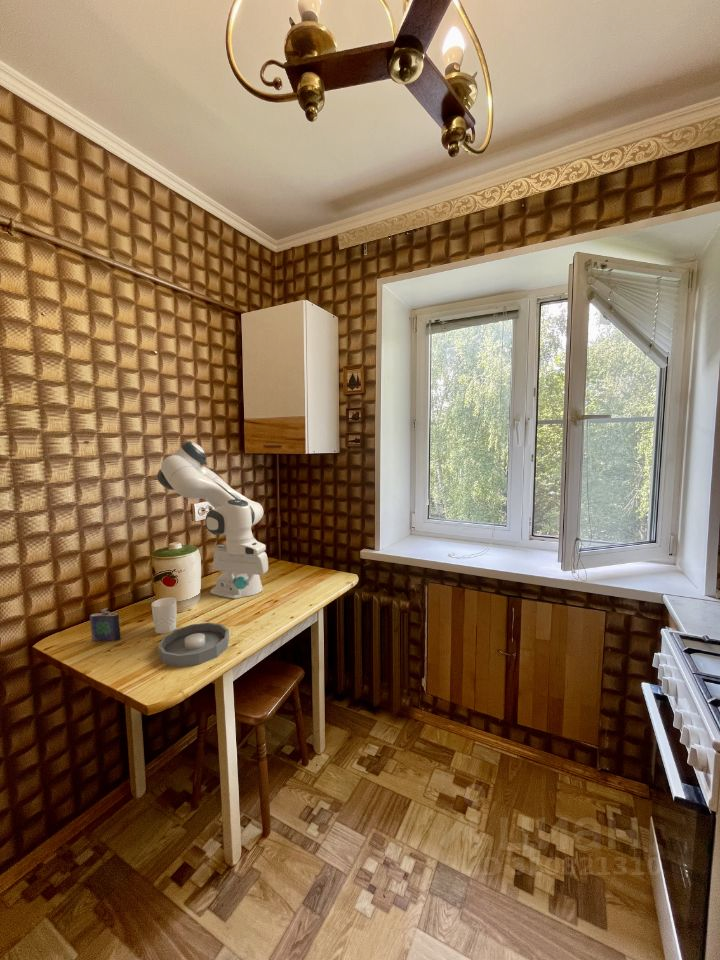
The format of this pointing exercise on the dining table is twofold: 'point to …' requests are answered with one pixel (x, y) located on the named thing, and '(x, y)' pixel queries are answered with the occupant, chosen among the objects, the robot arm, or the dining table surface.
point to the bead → (240, 582)
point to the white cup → (164, 615)
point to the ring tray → (193, 644)
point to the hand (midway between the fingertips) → (241, 584)
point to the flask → (105, 626)
